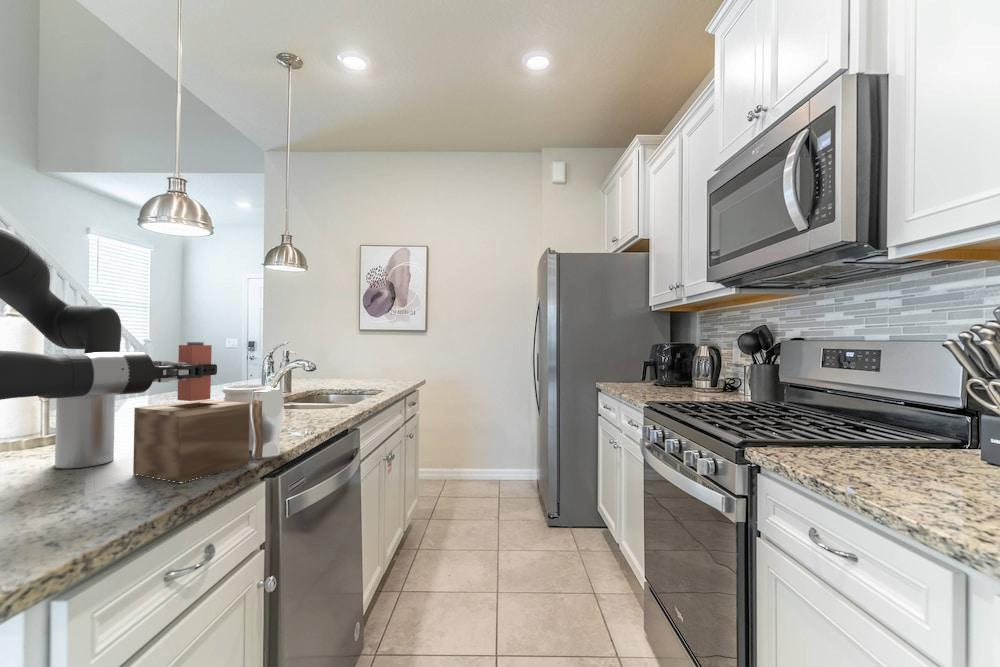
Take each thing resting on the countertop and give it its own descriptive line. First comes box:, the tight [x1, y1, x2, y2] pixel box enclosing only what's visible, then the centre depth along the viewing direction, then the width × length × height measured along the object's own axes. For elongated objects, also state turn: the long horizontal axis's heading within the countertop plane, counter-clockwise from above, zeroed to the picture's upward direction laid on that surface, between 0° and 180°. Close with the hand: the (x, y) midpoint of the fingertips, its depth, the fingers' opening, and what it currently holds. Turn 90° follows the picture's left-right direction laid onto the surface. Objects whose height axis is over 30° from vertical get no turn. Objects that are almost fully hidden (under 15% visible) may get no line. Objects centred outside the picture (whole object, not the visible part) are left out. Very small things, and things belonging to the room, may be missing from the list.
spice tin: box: [177, 341, 213, 402], centre depth 94 cm, size 4×4×12 cm
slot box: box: [132, 399, 250, 482], centre depth 94 cm, size 14×14×13 cm
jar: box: [222, 384, 272, 452], centre depth 112 cm, size 11×10×15 cm
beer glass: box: [250, 387, 285, 460], centre depth 105 cm, size 7×7×15 cm
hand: (207, 369), depth 96 cm, fingers closed on spice tin, 4 cm apart
